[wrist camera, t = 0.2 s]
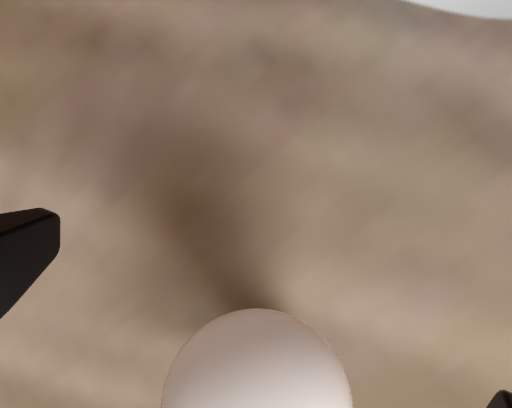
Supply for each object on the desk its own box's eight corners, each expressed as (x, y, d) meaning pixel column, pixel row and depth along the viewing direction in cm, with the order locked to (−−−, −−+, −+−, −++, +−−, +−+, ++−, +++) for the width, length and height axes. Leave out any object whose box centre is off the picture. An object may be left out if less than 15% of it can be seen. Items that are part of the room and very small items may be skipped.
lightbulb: (368, 385, 23) (407, 501, 12) (255, 446, 23) (193, 612, 12) (302, 269, 24) (283, 278, 13) (196, 330, 24) (90, 388, 13)
